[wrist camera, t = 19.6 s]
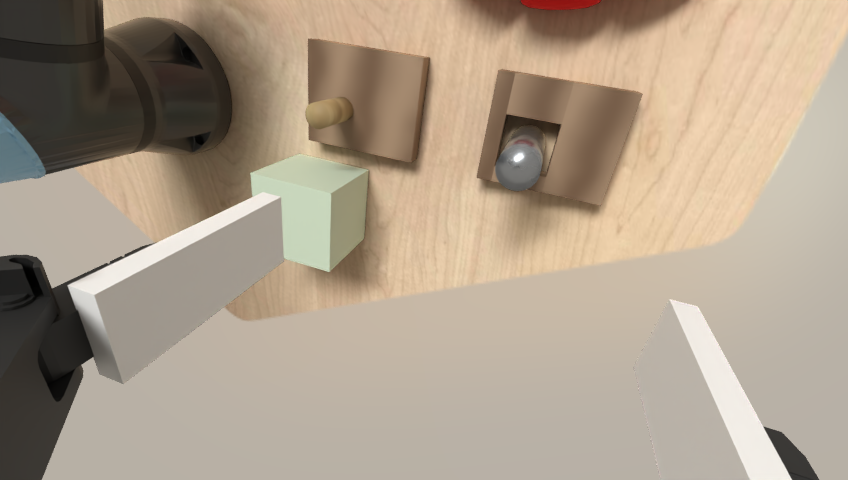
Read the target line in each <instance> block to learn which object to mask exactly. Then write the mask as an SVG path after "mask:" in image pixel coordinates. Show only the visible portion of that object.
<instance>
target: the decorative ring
mask: <svg viewBox="0 0 848 480" xmlns="http://www.w3.org/2000/svg"><path fill="white" fill-rule="evenodd" d="M600 1H601V0H521V2H522V4H523V5H525V6H527V7H530V8H538V9H546V10H571V9H580V8H587V7H590V6H592V5H595V4H597V3H600Z"/></svg>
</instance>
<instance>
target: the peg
mask: <svg viewBox="0 0 848 480" xmlns="http://www.w3.org/2000/svg"><path fill="white" fill-rule="evenodd" d="M545 145H546V138H545V135H544V133H543V132H542V131H541V129H539V128H538V127H536V126H533V125H525V126H522V127H520V128H518V129H517V130H516V131H515V132H514V133H513V134H512V136H511V138H510V139H509V141H508V143H507V145H506V146H505V148H504V150H503V151H502V153H501V155H500V156H499V158H498V160H497V162H496V166H495V173H496V177H497V179H498V181H499V182H500V183H501V185H503V186H504V187H505V188H507V189H509V190H513V191H522V190H526V189H528V188H530V187H532V186H533V185H534V184H535V183H536V182H537V180H538V178H539V176H540V173H541V167H542V162H543V156H544V151H545Z"/></svg>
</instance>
